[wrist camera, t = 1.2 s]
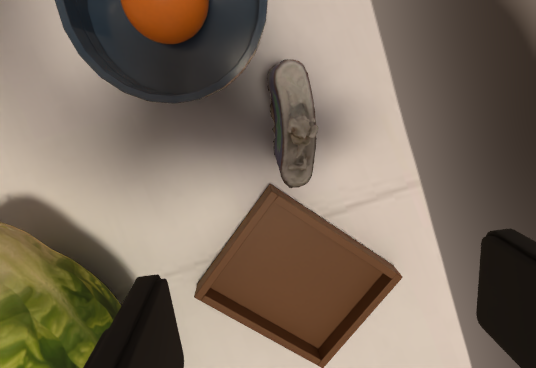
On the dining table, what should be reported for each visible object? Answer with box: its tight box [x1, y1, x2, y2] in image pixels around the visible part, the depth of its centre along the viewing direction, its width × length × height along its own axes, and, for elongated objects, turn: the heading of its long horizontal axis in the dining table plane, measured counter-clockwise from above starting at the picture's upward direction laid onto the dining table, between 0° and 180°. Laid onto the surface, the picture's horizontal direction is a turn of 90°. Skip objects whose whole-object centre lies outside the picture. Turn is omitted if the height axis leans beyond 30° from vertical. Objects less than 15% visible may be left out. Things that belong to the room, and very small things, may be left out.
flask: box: [267, 60, 318, 188], centre depth 28 cm, size 9×3×11 cm, turn 5°
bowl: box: [55, 0, 268, 103], centre depth 28 cm, size 15×15×5 cm
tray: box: [194, 184, 402, 368], centre depth 37 cm, size 17×14×2 cm
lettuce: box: [0, 222, 121, 368], centre depth 30 cm, size 15×27×16 cm, turn 20°
